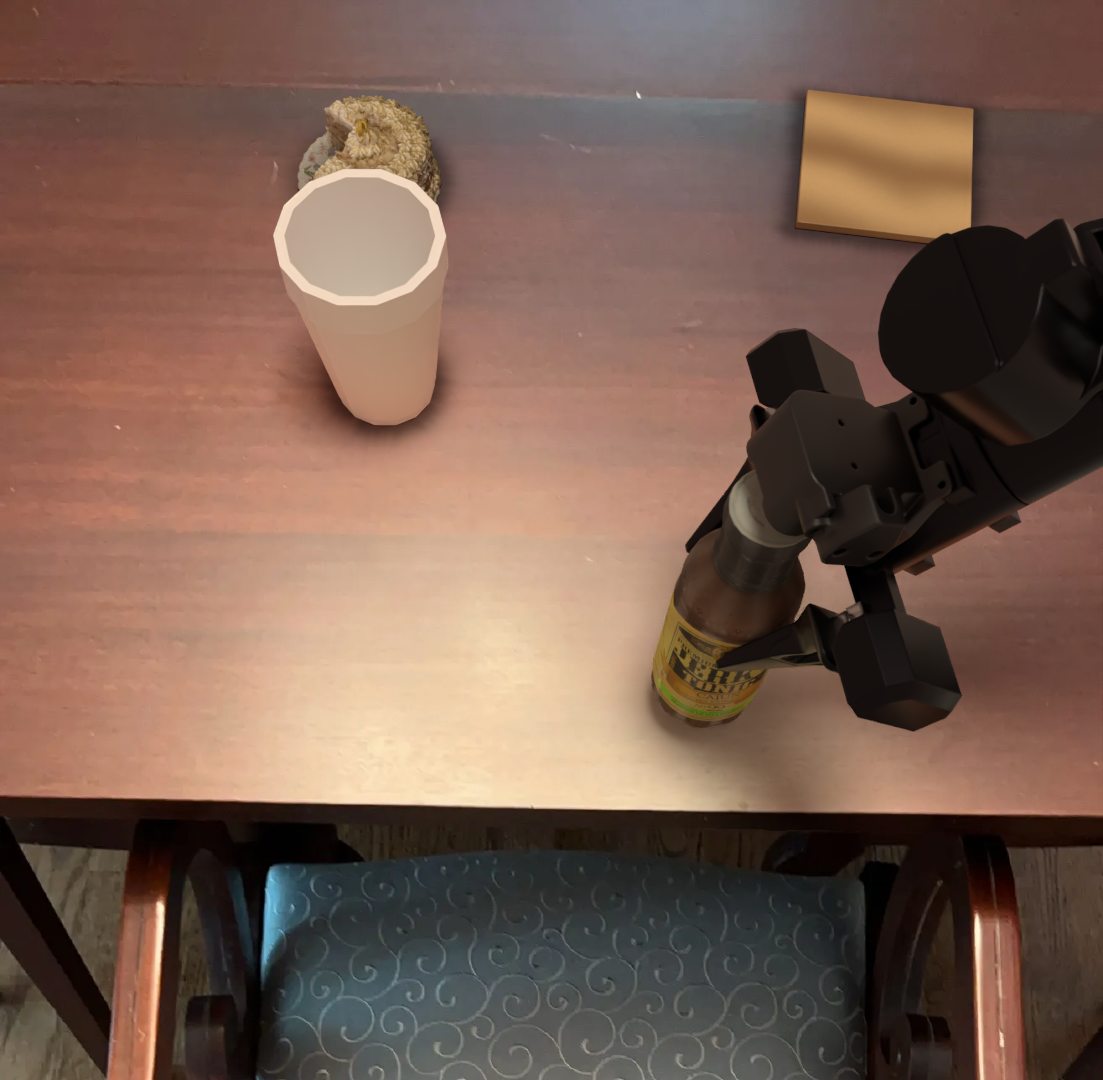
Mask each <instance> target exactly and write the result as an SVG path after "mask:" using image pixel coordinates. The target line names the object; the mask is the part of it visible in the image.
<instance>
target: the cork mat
mask: <svg viewBox="0 0 1103 1080" xmlns="http://www.w3.org/2000/svg"><path fill="white" fill-rule="evenodd" d="M804 102H805V104H804V114H803V115H804V116H803V126H802V128H803V130H802V141H801V154H800V165H799V166H800V167H799V179H798V192H797V204H796V216H795V229H801V230H810V231H816V232H817V231H818V232H819V231H820V232H826V233H827V232H828V233H834V234H835V233H836V234H845V235H851V236H852V235H853V236H861V237H868V238H878V239H886V240H894V241H904V242H912V243H921V244H928V243H930V242H931V241H933V240H934V239H936V238H938V237H939V236H941V235H942V234H945V233H950V234H952V233H955V232H958V231H961V230H963V229H966V228H969V227H972V198H973V197H972V195H973V194H972V193H973V191H972V190H973V153H974V152H973V147H974V108H971V107H963V106H953V105H943V104H937V103H930V102H929V103H927V102H919V101H908V100H901V99H893V98H885V97H884V98H883V97H876V96H866V95H858V94H851V93H842V92H841V93H840V92H832V91H824V90H813V89H807V91H806V94H805V101H804Z"/></svg>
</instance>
